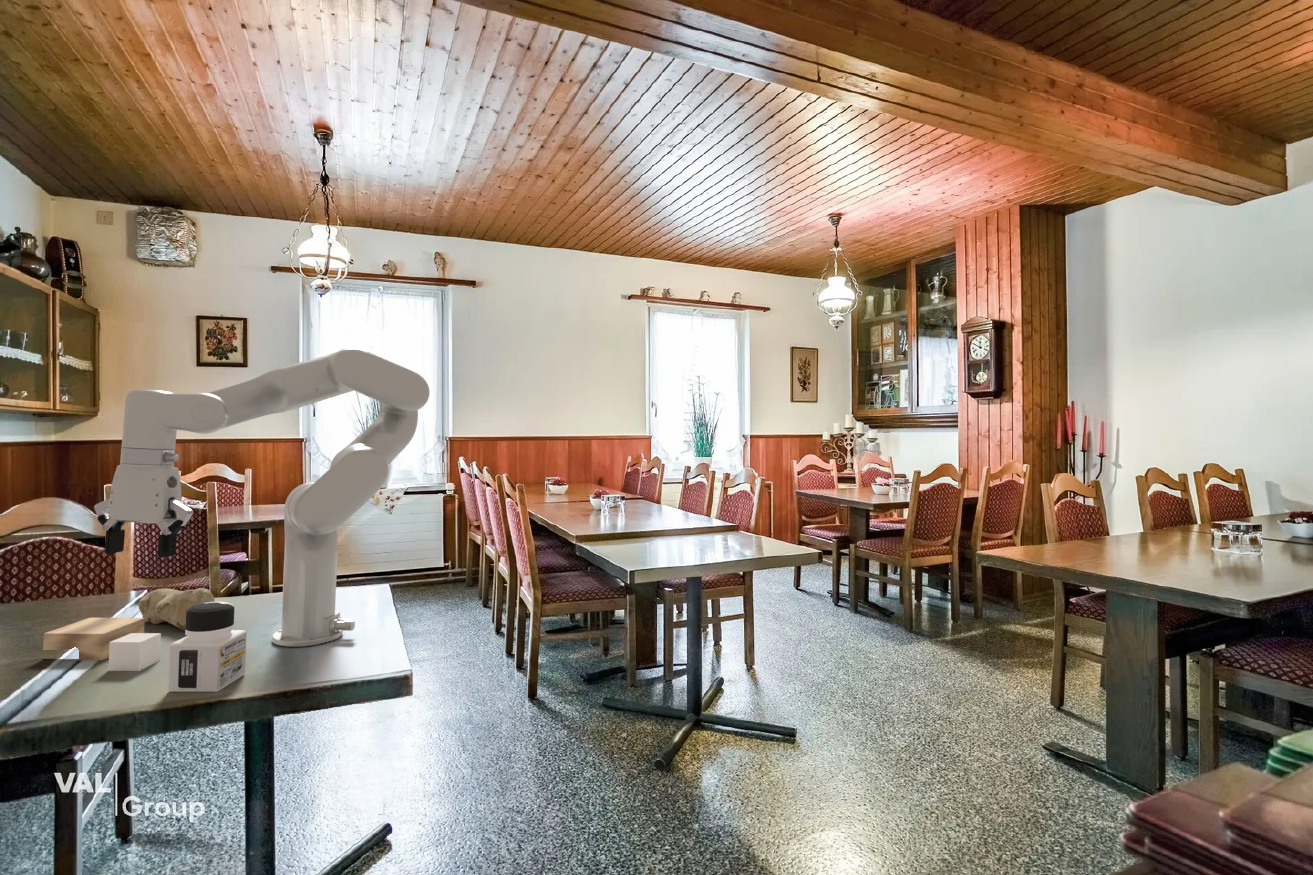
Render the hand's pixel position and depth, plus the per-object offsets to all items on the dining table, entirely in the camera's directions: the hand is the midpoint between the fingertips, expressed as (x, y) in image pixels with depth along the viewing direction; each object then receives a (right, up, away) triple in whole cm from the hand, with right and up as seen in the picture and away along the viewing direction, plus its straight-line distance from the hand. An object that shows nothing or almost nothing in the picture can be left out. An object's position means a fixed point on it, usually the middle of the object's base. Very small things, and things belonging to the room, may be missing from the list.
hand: (140, 554), depth 112 cm
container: (+18, -20, -8) cm, 28 cm away
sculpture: (-10, -19, +21) cm, 31 cm away
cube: (+1, -19, -2) cm, 19 cm away
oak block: (-12, -19, +5) cm, 23 cm away
